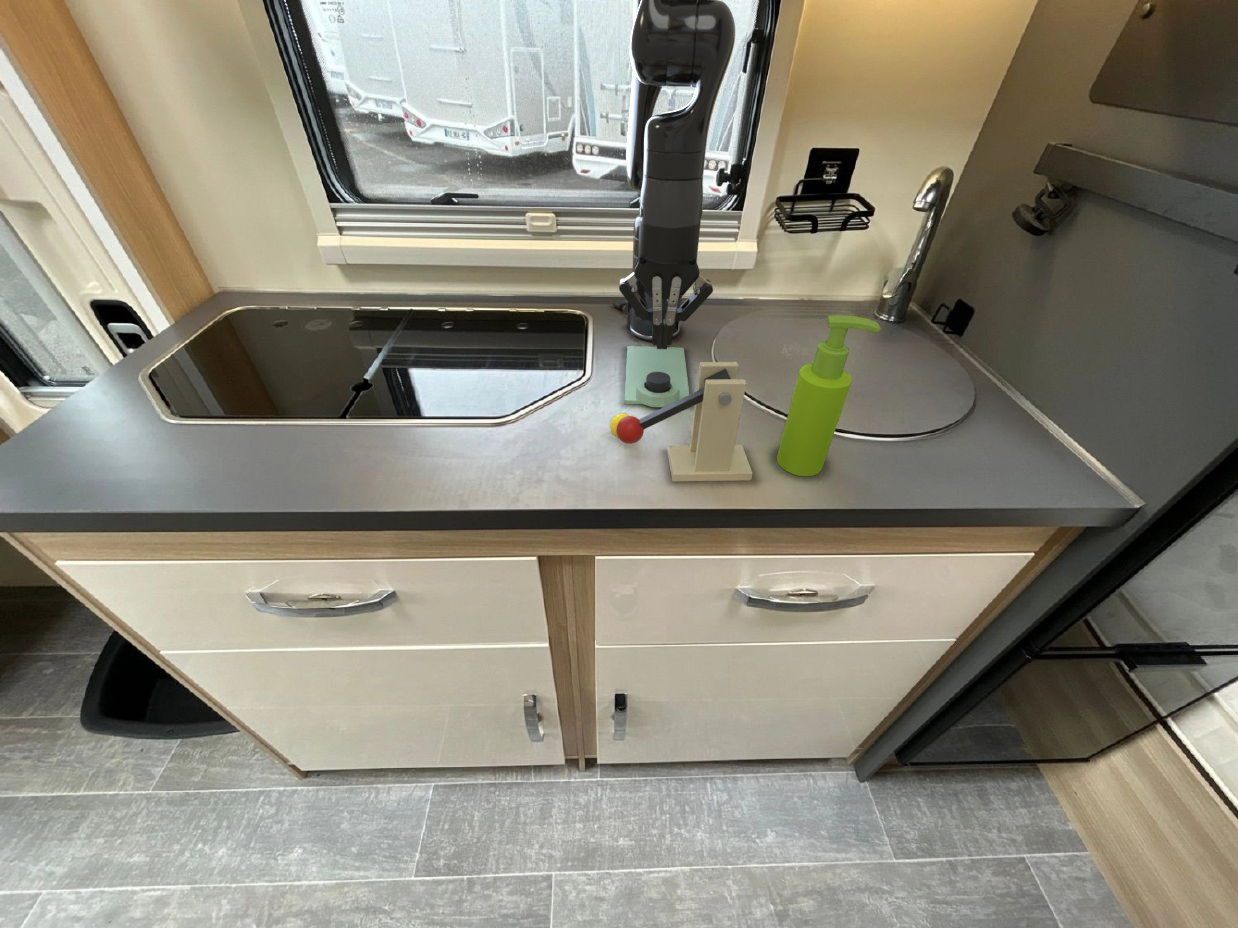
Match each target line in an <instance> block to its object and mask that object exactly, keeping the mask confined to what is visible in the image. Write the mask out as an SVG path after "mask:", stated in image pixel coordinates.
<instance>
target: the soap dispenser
mask: <svg viewBox="0 0 1238 928" xmlns="http://www.w3.org/2000/svg"><path fill="white" fill-rule="evenodd" d="M826 323H827V327H828V328H830V331H829V333H828V338H827V339H826V340H823V341H820V342H819V343H818V345H817V347H816V351H815V355H814V359H813V362H812V363H811V362H810V363H806V364H803V365H802V366H801V367H800V368H799V372H798V375H797V378H796V382H795V387H794V390H793V394H792V398H791V400H790V401H791V402H790V405H789V409H788V413H787V416H786V420H785V423H784V428H783V432H782V436H781V439H780V443H779V447H778V451H777V454H776V462H777V464H778V465H779V467H780V468H782V469H783V470H784V471H786V472H787V473H789V474H791V475H795V476H797V477H798V476H799V477H813V476H816V475H818V474H820V472H821V471H822V470H823V467H824V464H825V462H826V458H827V456H828V453H829V450H830V447H831V444H832V441H833V438H834V436H835V432H836V429H837V426H838V423H839V420H840V418H841V414H842V411H843V408H844V405H845V402H846V399H847V397H848V393H849V391H850V387H851V385H852V382H853V377H852V376H851V374H850V373H849V372H848V371H847V370H845V365H846V363H847V359H848V356H849V353H850V348H849V347H848V345H846V344H845V343H844V342H845V339H846V336H847V332H848V329H854V330H855V329H857V330H864V331H869V332H871V333H878V332H880V331H881V330H882V329H881V326H880V324H879V322H878V321H875V320H872V319H869V318H866V317H863V316H855V315H841V314H840V315H836V314H834V315H833V314H832V315H831V314H830V315H829V314H828V315H827V318H826Z"/></svg>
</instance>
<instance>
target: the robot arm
mask: <svg viewBox="0 0 1238 928" xmlns="http://www.w3.org/2000/svg"><path fill="white" fill-rule="evenodd" d="M733 15H734V14H733V12H732V11H731V8H730V7H729V5H728V4H727V3H726V2H724V1H722V0H633V25H632V29H631V35H630V40H629V58H630V63H631V68H632V76H631V77H632V79H631V90H630V91H631V92H630V105H629V117H628V128H627V140H626V151H625V152H626V155H625V173H626V180H627V181H626V182H627V184H628V186H629V188H630V189H631V190H632V191H633V192H638V193H640V201H639V211H638V215H637V216H636V217H635V218H634V222H633V233H632V234H633V235H632V273H631V274H629V275H628V276H627V277H622V278H620V279H619V282H618V290H619V292H620V293H621V294H622V296H623V297H624V299H625V300H622V301H620V302H618V301H613V302H612V306H613V307H614V308H616V309H619V310H620V309H623V307H625V308H624V314H625V315H626V318H627V319H626V328H628V329H629V331H630V333H631V335H633V336H635V337H636V338H638V339H641V340H644V341H651V342H652V345H653V346H656V347H657V349H664V350H667V347H672V344H673V339H674V338H676V337H677V336H678V335H679V334H680V331H681V330H680V329H681V324H682V322H686V321H687V320H689V318H690V317H691V316H692V315H693V314H694V313H695V312H696V311H697V310H698V308H700V307H701V306H702V304H703V303H704V302H705V301H706V300H707V299H708V298H709V297H710V296H711V295H712V294H713V292H714V287H713V284H712V281H711V280H710V279H706V278H705V277H703V276H702V275H701V274H700V272H701V271H700V267H699V265H698V252H699V244H700V243H699V242H700V232H701V222H702V217H703V211H704V210H703V204H704V203H703V201H704V173H705V172H704V171H705V161H706V151H707V143H708V142H707V141H708V134H709V131H710V130H709V129H710V125H711V121H712V115H713V112H714V108H715V105H716V102H717V98H718V95H719V93H720V89H721V86H722V84H723V81H724V78H725V76H726V73H727V70H728V67H729V64H730V61H731V58H732V55H733V51H734V47H735V41H736V23H735V18H734V16H733ZM663 87H674V88H675V87H679V88H681V87H683V88H691V87H692V88H695V90H694V94H693V96H692V98H691V100H690V101H689V102H688V104H686V105H685V106H683V107H681V108H679V109H676V110H671V111H667V112H662V113H659V114H655V115H654V110H655V107H656V104H657V101H658V98H659V96H660V93H661V91H662V89H663ZM693 284H694V285H693ZM692 286H693V287H692ZM691 287H692V290H693V292H692V293H690V295H689V296H688V297H687V299H686V300H685V301H684V302H683V297H684V296H685V294H686V293H687V292H688V291H689V290H690V288H691ZM682 302H683V303H682Z"/></svg>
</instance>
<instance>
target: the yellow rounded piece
mask: <svg viewBox="0 0 1238 928" xmlns="http://www.w3.org/2000/svg"><path fill="white" fill-rule="evenodd" d="M627 416H630V414H628V413H618V414H617V415H615V416H614V417H612V419H611V422H610V425H609V427H610V430H611V434H612V435H613V436H614V437H616V438H618V436H617V433H616V427H617V424H618V422H619V421H620V420H621V419H622V418H624V417H627ZM618 439H619V438H618Z"/></svg>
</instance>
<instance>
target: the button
mask: <svg viewBox="0 0 1238 928" xmlns="http://www.w3.org/2000/svg"><path fill="white" fill-rule="evenodd" d="M670 379H671V378H670V376H669V375H668V374H666V373H663V372H652V373H649V374H648V375H647V377H646V389H647V390H648V391H651V392H654V393H664V392H667V391H668V390H669V389H670Z"/></svg>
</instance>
